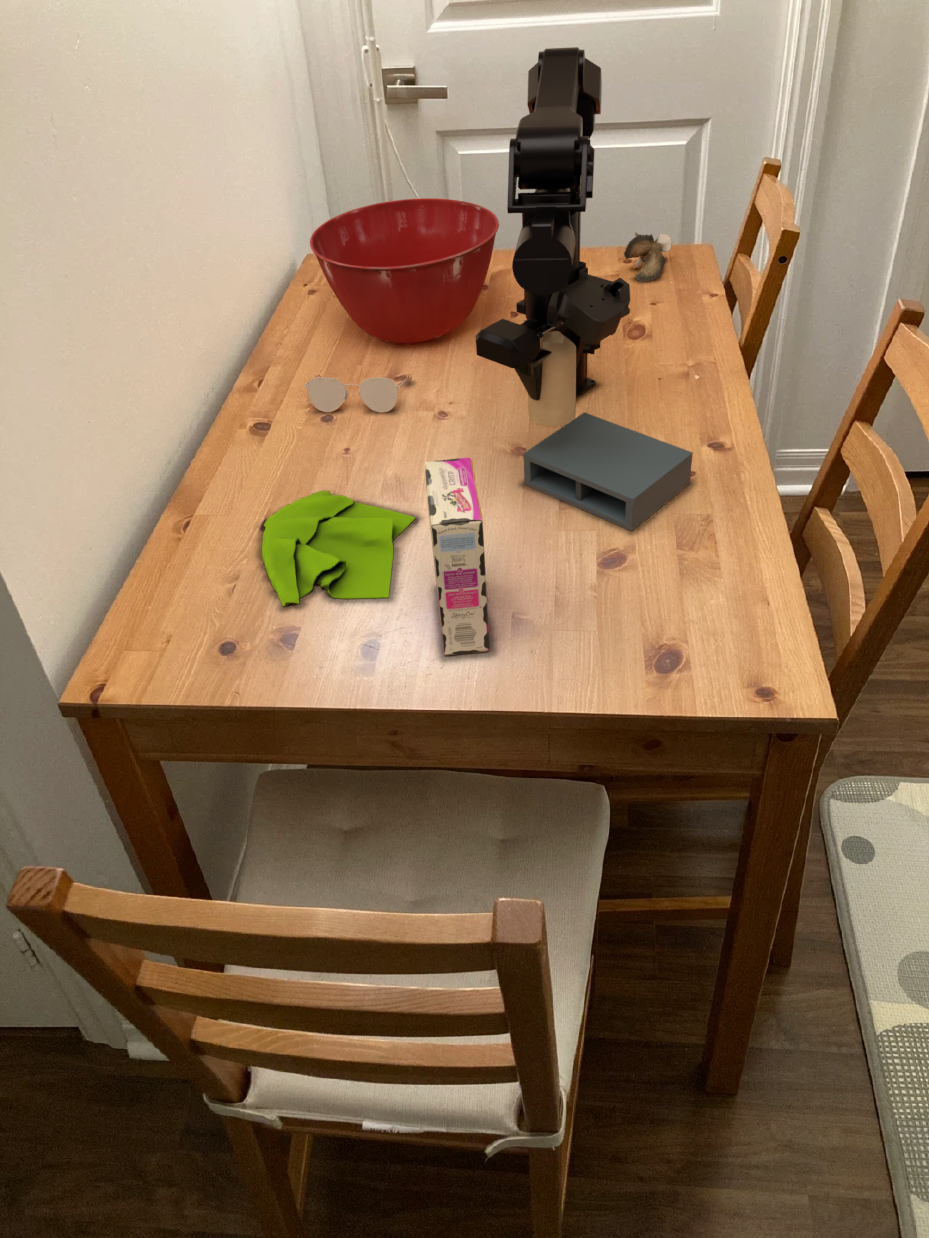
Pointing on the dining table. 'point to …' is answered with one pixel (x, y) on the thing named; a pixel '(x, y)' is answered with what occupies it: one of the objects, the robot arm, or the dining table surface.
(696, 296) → the dining table surface
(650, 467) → the shelf
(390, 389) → the sunglasses
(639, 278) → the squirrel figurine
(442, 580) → the candy bar box
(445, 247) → the mixing bowl
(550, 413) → the candle
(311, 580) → the cloth
